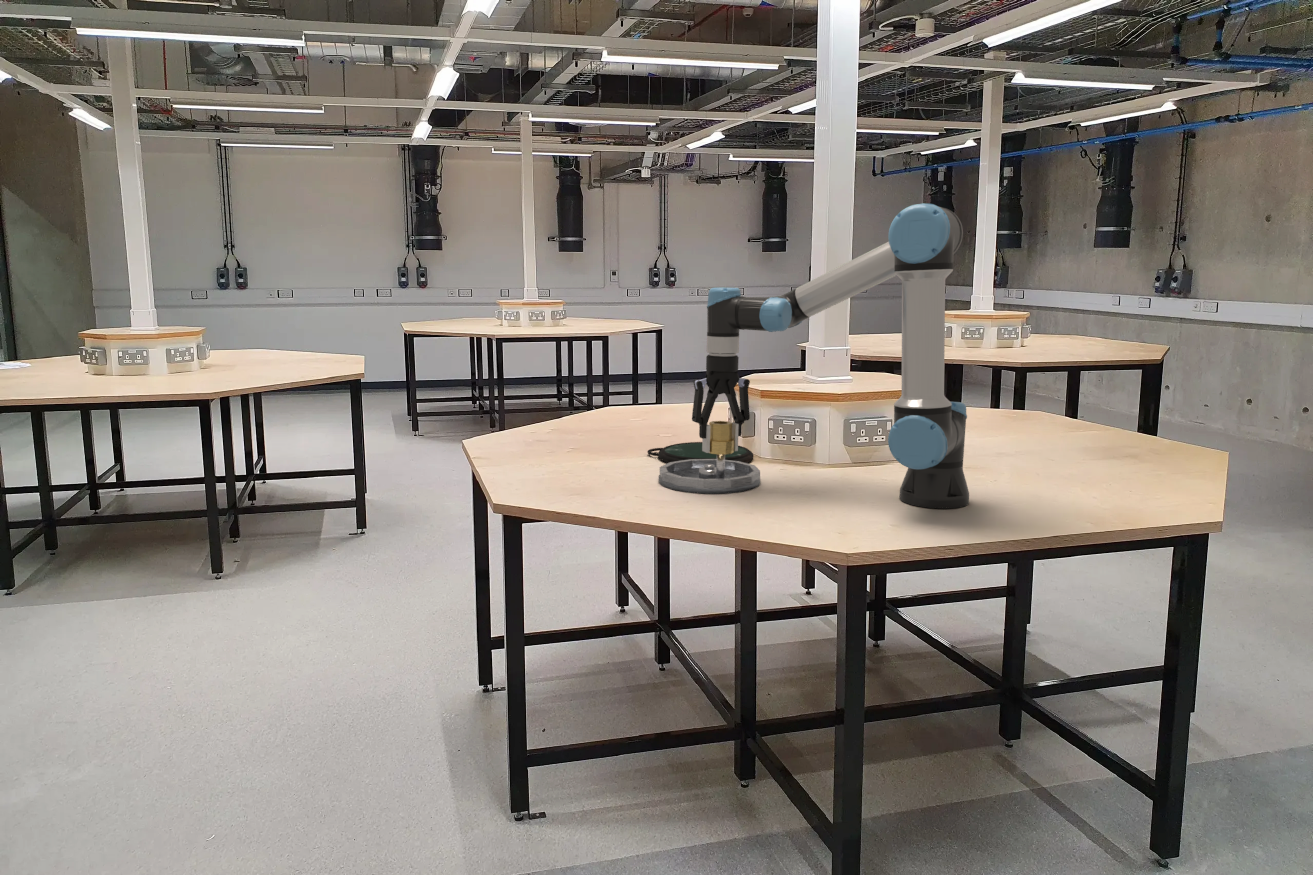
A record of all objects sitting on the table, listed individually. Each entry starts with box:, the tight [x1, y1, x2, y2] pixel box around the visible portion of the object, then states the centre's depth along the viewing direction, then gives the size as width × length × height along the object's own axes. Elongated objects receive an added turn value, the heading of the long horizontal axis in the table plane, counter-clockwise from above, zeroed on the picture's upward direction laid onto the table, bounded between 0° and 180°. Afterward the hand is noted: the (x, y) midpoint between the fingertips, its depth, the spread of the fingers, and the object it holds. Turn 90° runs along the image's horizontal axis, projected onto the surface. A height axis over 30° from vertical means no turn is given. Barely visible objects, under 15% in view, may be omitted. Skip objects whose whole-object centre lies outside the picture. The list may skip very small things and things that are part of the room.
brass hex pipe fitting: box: [708, 420, 734, 454], centre depth 219 cm, size 6×6×7 cm
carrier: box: [658, 454, 761, 495], centre depth 227 cm, size 25×25×8 cm
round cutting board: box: [647, 441, 754, 464], centre depth 256 cm, size 26×3×30 cm
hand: (720, 450), depth 220 cm, fingers closed on brass hex pipe fitting, 7 cm apart
